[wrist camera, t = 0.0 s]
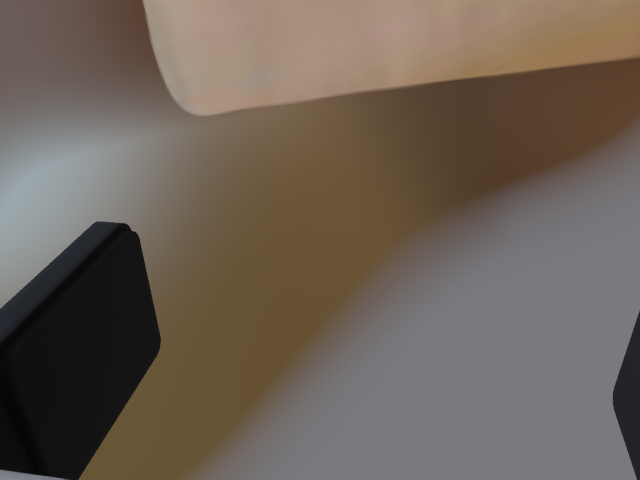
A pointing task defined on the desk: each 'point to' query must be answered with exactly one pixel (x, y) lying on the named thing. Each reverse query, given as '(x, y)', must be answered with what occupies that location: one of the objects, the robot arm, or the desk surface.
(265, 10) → the desk surface
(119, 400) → the robot arm
